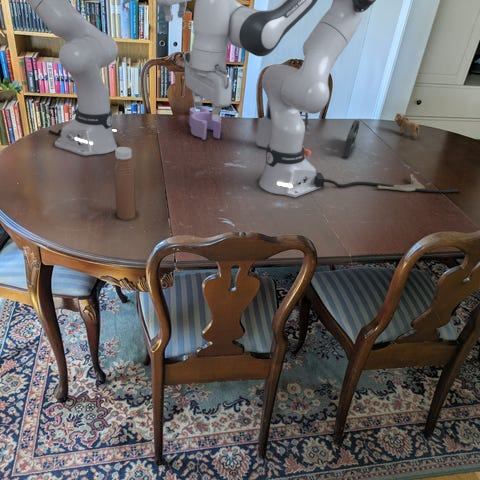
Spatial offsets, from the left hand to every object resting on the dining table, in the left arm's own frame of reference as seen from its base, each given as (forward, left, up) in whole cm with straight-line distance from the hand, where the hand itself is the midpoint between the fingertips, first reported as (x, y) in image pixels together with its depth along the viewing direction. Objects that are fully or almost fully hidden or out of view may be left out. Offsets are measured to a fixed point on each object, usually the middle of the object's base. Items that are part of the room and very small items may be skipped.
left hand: (175, 19), depth 144 cm
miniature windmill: (+34, +67, -48) cm, 89 cm away
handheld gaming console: (+60, +47, -48) cm, 90 cm away
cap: (+3, -40, -28) cm, 49 cm away
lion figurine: (+83, +81, -48) cm, 126 cm away
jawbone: (+80, +21, -48) cm, 95 cm away
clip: (-2, +37, -48) cm, 61 cm away
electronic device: (+29, +33, -48) cm, 65 cm away
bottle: (+3, -40, -48) cm, 63 cm away
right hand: (+21, -28, -18) cm, 40 cm away
